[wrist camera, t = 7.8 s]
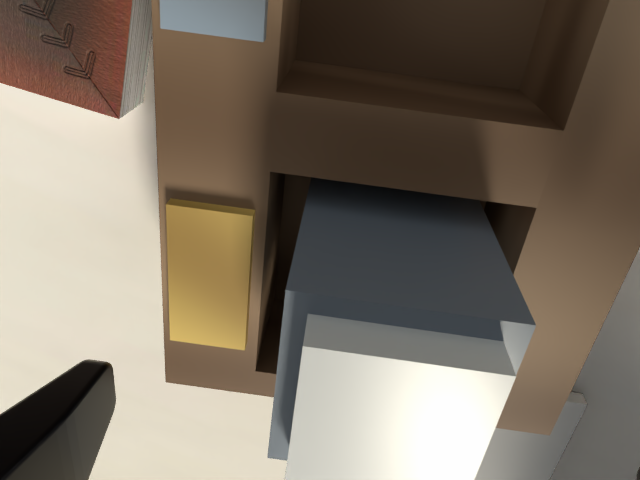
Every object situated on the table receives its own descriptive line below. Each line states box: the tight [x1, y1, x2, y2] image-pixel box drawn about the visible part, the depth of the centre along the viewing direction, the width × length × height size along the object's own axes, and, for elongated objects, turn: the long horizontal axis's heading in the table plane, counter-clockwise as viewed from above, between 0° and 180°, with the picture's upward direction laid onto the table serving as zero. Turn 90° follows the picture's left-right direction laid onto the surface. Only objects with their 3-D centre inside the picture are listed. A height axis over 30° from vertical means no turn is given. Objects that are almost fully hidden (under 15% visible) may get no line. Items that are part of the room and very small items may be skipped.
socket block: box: [151, 0, 640, 436], centre depth 12 cm, size 14×10×4 cm
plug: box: [268, 177, 536, 480], centre depth 12 cm, size 4×4×7 cm
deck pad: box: [474, 392, 588, 480], centre depth 20 cm, size 8×8×1 cm
